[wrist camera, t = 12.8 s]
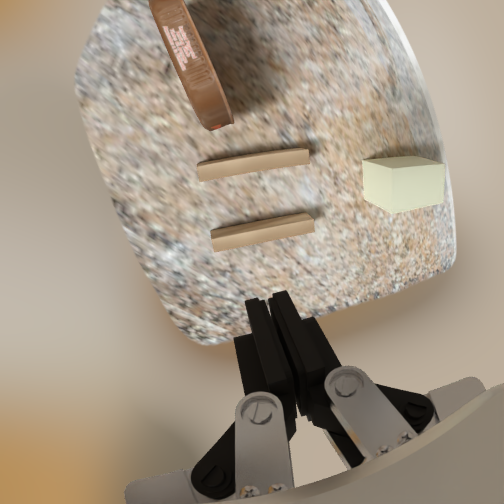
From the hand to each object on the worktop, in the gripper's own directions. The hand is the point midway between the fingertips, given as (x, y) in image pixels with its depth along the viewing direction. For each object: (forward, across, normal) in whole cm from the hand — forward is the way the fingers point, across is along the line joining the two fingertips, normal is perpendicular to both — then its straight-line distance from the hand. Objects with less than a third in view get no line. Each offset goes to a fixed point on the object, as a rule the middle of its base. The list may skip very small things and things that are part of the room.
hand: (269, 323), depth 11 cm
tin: (+21, +1, -14) cm, 25 cm away
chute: (+20, -3, +1) cm, 20 cm away
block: (+20, -21, +1) cm, 29 cm away
